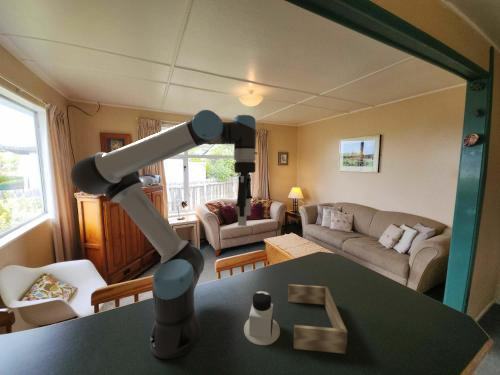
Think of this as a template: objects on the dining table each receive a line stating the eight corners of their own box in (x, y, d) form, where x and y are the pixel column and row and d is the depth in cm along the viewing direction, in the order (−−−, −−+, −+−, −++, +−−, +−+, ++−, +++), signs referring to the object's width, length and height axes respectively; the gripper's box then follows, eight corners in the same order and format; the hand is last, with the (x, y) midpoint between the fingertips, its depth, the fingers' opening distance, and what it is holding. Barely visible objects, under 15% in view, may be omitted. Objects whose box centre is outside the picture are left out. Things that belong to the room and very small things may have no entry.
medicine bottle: (271, 339, 64) (271, 304, 63) (249, 335, 66) (249, 301, 64) (273, 322, 71) (273, 290, 70) (252, 319, 73) (253, 287, 71)
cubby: (293, 348, 62) (294, 327, 61) (288, 300, 83) (288, 284, 83) (345, 353, 60) (347, 332, 59) (326, 303, 82) (327, 286, 81)
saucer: (241, 343, 63) (241, 342, 63) (246, 315, 75) (246, 314, 75) (280, 347, 62) (280, 346, 62) (279, 317, 74) (279, 316, 74)
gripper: (252, 161, 60) (251, 231, 62) (257, 161, 84) (257, 212, 87) (226, 161, 61) (227, 230, 63) (239, 161, 85) (240, 211, 88)
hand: (244, 219), depth 75 cm, fingers open, 13 cm apart
